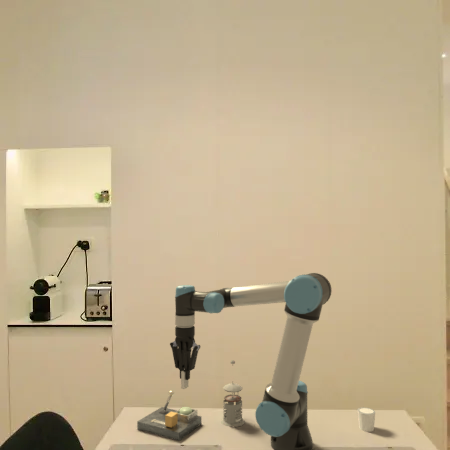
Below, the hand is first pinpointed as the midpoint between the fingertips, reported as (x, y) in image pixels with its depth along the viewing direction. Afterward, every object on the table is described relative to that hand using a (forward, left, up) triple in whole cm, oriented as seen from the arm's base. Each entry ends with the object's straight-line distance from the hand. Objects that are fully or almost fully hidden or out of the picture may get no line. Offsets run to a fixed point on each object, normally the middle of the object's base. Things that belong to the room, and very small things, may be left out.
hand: (184, 387), depth 154 cm
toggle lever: (+16, -8, -15) cm, 23 cm away
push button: (+5, -8, -15) cm, 18 cm away
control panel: (+10, -4, -18) cm, 21 cm away
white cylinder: (-60, -40, -19) cm, 75 cm away
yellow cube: (+6, +1, -15) cm, 16 cm away
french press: (-10, -21, -19) cm, 30 cm away
